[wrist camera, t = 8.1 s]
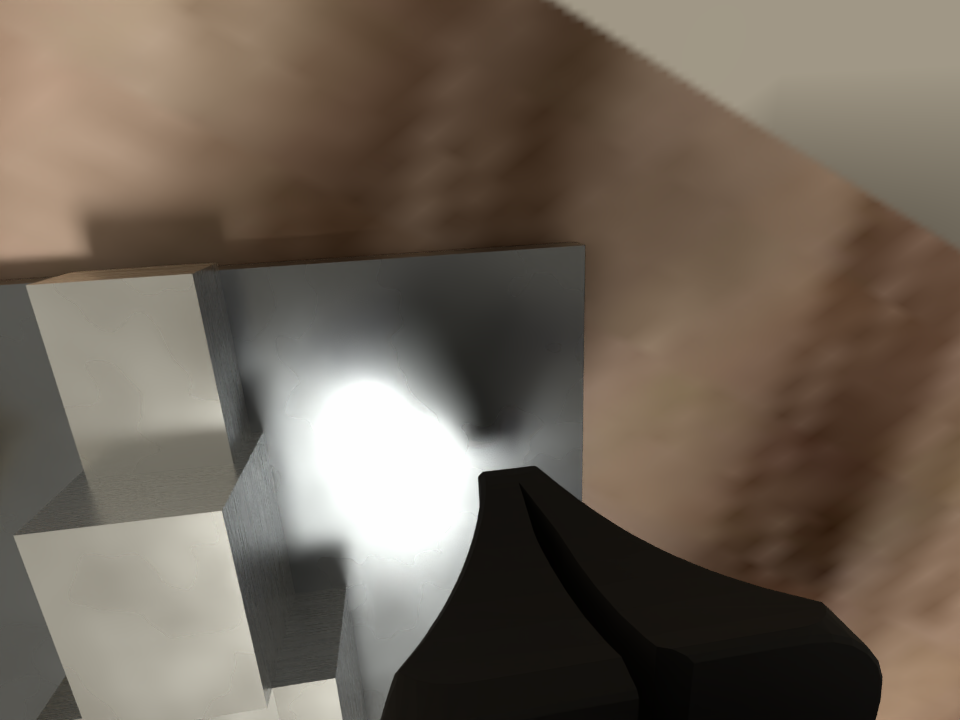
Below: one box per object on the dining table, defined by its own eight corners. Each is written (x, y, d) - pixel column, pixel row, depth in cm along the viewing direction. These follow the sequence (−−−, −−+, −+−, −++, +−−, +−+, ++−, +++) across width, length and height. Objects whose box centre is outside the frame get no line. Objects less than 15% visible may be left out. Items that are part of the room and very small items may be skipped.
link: (370, 741, 17) (364, 874, 14) (155, 779, 17) (95, 928, 13) (295, 257, 12) (259, 284, 9) (-14, 277, 12) (-175, 316, 8)
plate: (572, 679, 19) (579, 700, 18) (-191, 808, 16) (-220, 838, 15) (575, 241, 14) (585, 245, 13) (-504, 314, 11) (-569, 324, 11)
